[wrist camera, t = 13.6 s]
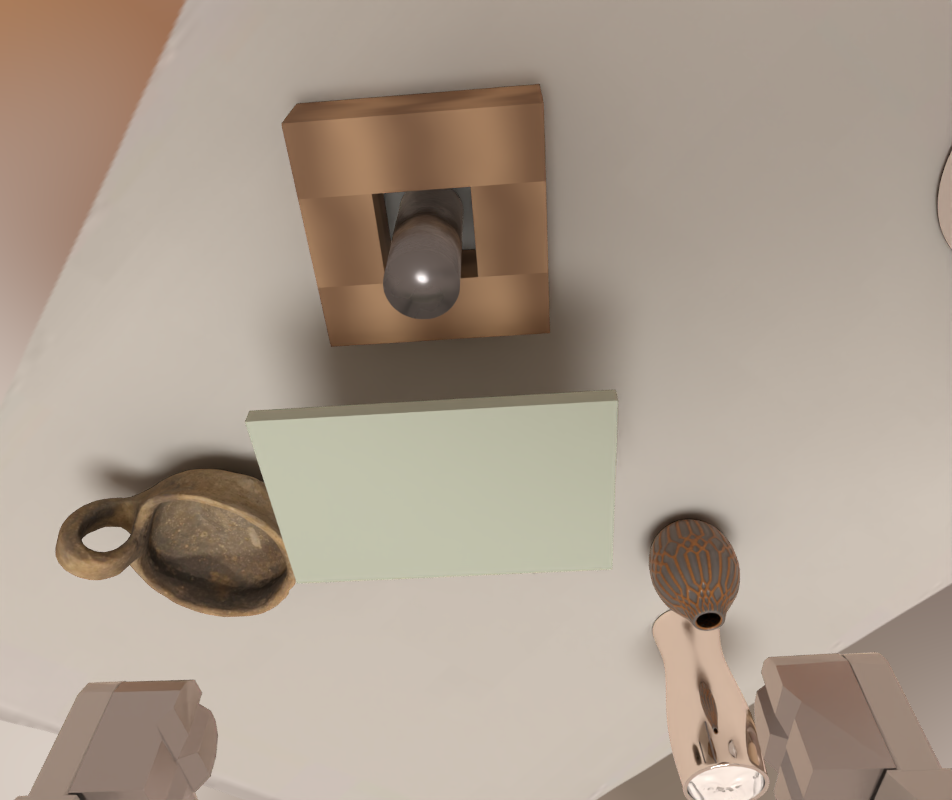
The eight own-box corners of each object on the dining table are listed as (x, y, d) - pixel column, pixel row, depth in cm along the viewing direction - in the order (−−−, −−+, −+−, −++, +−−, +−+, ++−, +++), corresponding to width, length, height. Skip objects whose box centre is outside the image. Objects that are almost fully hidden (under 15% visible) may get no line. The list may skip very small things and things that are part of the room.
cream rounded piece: (634, 641, 72) (664, 801, 60) (667, 595, 68) (706, 756, 56) (701, 656, 74) (743, 815, 61) (737, 611, 70) (790, 772, 57)
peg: (459, 177, 46) (455, 246, 38) (466, 239, 49) (463, 316, 41) (394, 183, 47) (376, 253, 39) (404, 244, 49) (389, 322, 41)
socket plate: (539, 84, 43) (543, 102, 40) (545, 302, 51) (550, 332, 48) (296, 103, 44) (281, 123, 41) (340, 315, 52) (331, 346, 49)
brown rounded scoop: (283, 585, 68) (256, 683, 60) (84, 516, 64) (26, 613, 56) (342, 484, 61) (319, 580, 53) (123, 399, 57) (62, 490, 48)
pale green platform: (590, 286, 51) (618, 400, 40) (589, 439, 58) (612, 569, 48) (294, 305, 52) (244, 422, 41) (330, 453, 59) (296, 583, 49)
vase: (696, 493, 61) (724, 577, 54) (741, 538, 64) (773, 624, 57) (626, 533, 64) (643, 618, 57) (672, 575, 67) (694, 661, 60)
